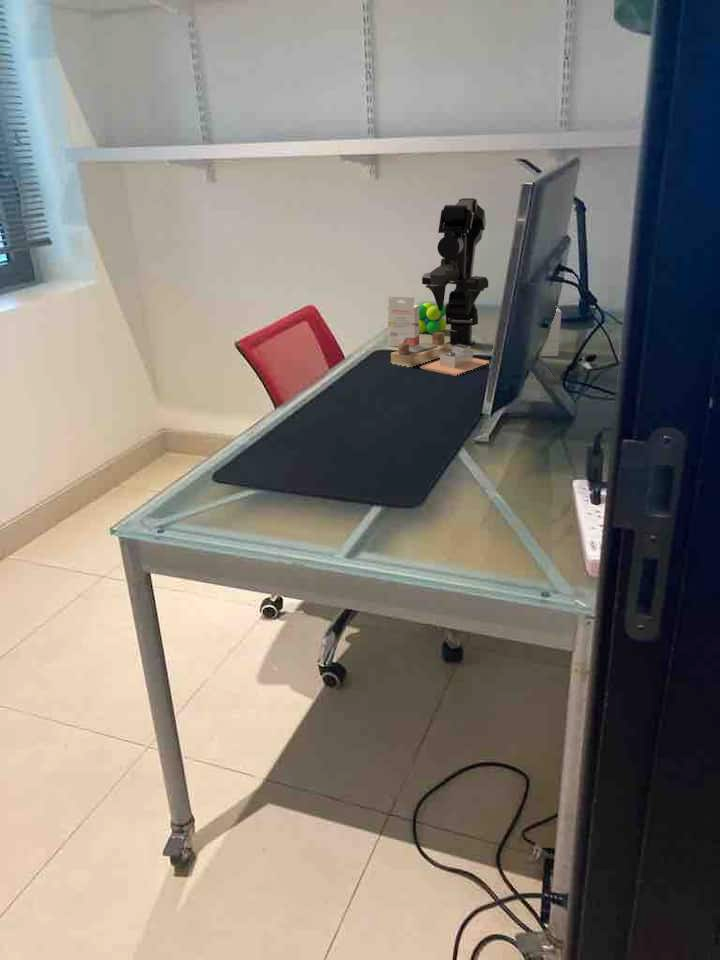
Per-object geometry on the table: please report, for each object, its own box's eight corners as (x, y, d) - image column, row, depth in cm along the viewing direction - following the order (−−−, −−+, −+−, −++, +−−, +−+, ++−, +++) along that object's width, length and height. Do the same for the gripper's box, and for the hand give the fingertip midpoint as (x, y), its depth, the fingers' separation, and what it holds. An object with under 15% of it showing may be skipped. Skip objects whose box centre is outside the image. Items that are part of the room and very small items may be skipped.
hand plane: (431, 351, 221) (432, 330, 218) (451, 354, 216) (451, 333, 214) (390, 363, 209) (390, 342, 206) (410, 367, 204) (410, 345, 202)
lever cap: (457, 359, 209) (458, 343, 207) (472, 362, 206) (473, 345, 204) (439, 365, 203) (439, 348, 202) (454, 368, 200) (455, 351, 198)
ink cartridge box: (419, 344, 229) (420, 294, 223) (414, 347, 225) (415, 297, 219) (393, 342, 232) (392, 293, 226) (387, 346, 228) (387, 296, 222)
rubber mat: (456, 356, 214) (456, 354, 214) (491, 363, 206) (492, 361, 206) (420, 368, 203) (420, 366, 203) (456, 376, 196) (456, 373, 195)
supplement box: (554, 350, 218) (558, 306, 213) (558, 357, 211) (562, 311, 206) (528, 350, 219) (531, 306, 214) (531, 357, 212) (534, 311, 207)
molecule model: (436, 336, 239) (448, 330, 245) (436, 307, 235) (449, 303, 242) (411, 333, 243) (424, 328, 250) (411, 305, 240) (424, 301, 246)
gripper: (409, 255, 205) (409, 313, 212) (465, 260, 194) (463, 321, 200) (434, 250, 213) (434, 307, 219) (490, 255, 201) (488, 314, 207)
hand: (453, 312), depth 211 cm, fingers open, 9 cm apart
